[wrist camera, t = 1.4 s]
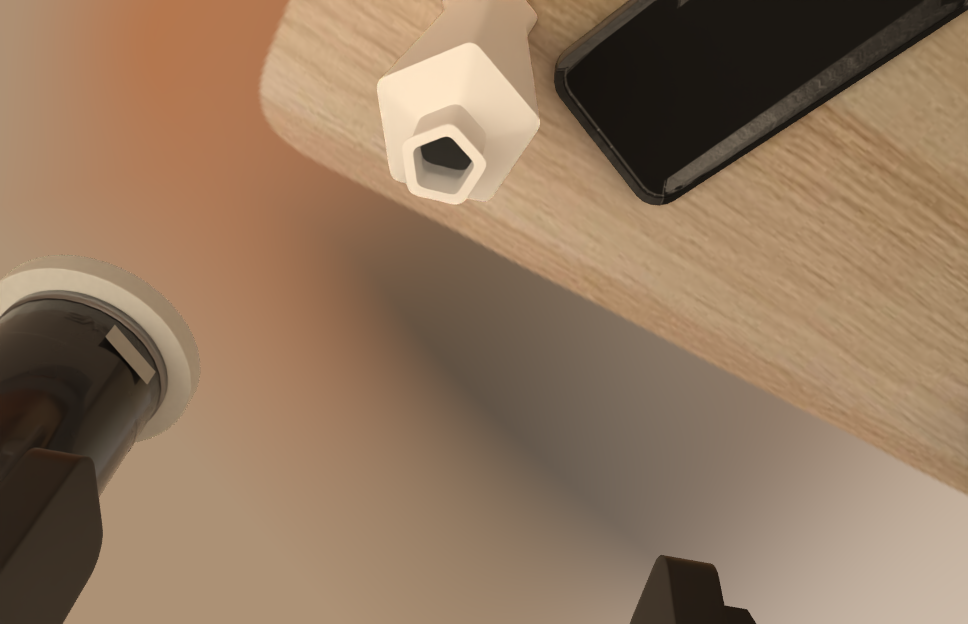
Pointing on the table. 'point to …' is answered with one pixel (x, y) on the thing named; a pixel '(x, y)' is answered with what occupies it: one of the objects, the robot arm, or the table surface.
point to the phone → (723, 76)
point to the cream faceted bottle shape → (462, 101)
